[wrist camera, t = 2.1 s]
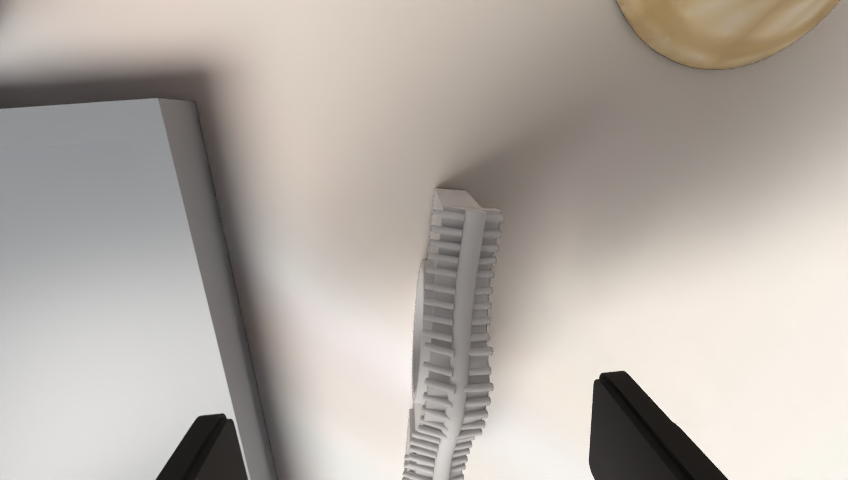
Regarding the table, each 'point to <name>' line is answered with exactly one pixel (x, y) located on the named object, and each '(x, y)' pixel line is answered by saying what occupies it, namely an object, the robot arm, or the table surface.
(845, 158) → the table surface
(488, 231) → the white toothed rack
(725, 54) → the hand bell
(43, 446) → the tray
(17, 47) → the table surface
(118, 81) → the table surface
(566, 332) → the table surface
